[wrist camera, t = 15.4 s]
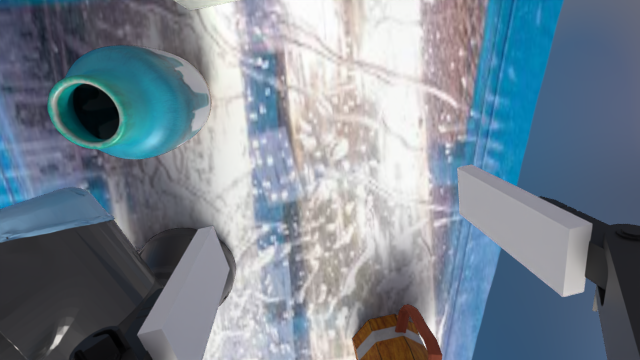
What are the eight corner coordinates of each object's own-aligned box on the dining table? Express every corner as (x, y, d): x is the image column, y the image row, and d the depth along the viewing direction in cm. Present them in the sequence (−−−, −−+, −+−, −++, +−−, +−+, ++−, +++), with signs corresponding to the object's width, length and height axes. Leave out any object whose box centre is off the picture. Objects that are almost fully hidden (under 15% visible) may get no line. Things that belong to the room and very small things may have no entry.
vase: (132, 124, 40) (6, 165, 22) (139, 42, 37) (-3, 11, 19) (213, 143, 42) (156, 195, 24) (225, 66, 39) (171, 59, 21)
